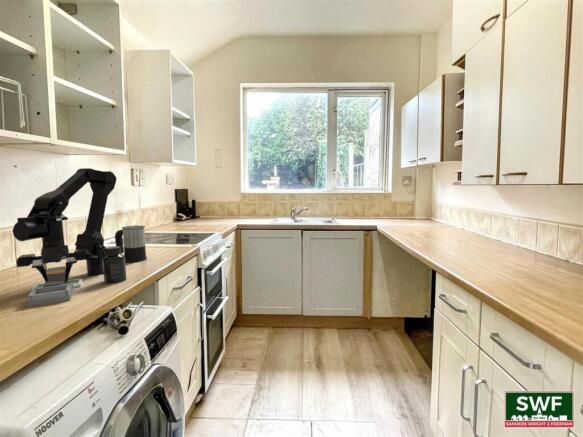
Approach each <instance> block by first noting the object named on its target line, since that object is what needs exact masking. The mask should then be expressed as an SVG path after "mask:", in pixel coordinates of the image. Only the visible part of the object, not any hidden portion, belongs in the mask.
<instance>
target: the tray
mask: <svg viewBox="0 0 583 437" xmlns="http://www.w3.org/2000/svg"><path fill="white" fill-rule="evenodd" d="M82 283H83V278H82V277H81V278H73V279H72V278H71V279H68V282H67V284H71V285H73V284H74V289H76V288H81V286H82ZM44 284H45V282H44V283H43V282H42V283H35V284H34V286H33V287H32V288H31V290H30V291H29V294H30V293H31V291H32V290H33V289H35V288H42V287H43V285H44Z"/></svg>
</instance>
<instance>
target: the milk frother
mask: <svg viewBox="0 0 583 437" xmlns="http://www.w3.org/2000/svg"><path fill="white" fill-rule="evenodd" d="M145 228H146V226H145V225H127V226H122V227H121V229H119V230H117V231H116V232H115V234H114V240H115V246H119V247H121V252H120V254H122V255H124V257H125V263H139V262H142V261H146V260H147V259H148V258H147V251H146V233H145V232H146V231H145V230H146V229H145Z"/></svg>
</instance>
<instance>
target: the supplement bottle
mask: <svg viewBox="0 0 583 437" xmlns="http://www.w3.org/2000/svg"><path fill="white" fill-rule="evenodd" d="M120 252H121V247H119V246H116V245H115V246H107V247H106V248H105V254H106V256H104V257H103V259H102V264H103V282H104V284H107V285H108V284H110V285H111V284H112V285H113V284H118V283H122V282H125V281H127V268H126V267H127V266H126V262H125V257H124V254H123V253H122V254H120Z"/></svg>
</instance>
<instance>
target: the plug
mask: <svg viewBox="0 0 583 437" xmlns="http://www.w3.org/2000/svg"><path fill="white" fill-rule="evenodd" d="M46 273H47V281H56V280H63V282H64V284H67V283H66V281H65V273H66V265H64V266H63V265H62V266H55V267H47V271H46Z"/></svg>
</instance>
